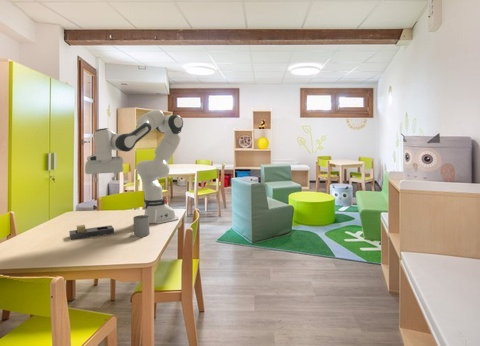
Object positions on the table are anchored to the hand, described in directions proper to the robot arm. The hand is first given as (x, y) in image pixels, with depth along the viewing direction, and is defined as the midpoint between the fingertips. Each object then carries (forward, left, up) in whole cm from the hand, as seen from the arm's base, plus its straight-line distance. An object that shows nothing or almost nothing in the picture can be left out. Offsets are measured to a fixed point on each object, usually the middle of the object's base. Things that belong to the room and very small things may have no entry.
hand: (104, 181), depth 195 cm
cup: (-15, +19, -29) cm, 38 cm away
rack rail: (+9, +5, -29) cm, 31 cm away
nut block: (+14, +5, -29) cm, 33 cm away
